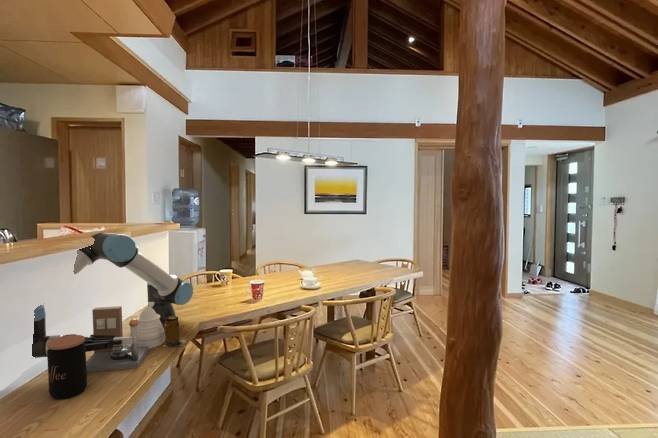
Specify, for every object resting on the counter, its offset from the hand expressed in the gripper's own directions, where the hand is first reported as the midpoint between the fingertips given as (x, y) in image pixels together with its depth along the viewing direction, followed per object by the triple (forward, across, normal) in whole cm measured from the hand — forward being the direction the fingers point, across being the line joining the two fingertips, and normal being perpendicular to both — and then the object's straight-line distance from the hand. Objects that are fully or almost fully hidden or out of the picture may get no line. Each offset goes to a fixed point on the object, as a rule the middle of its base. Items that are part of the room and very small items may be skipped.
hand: (132, 340), depth 148 cm
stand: (-8, -7, -11) cm, 15 cm away
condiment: (+12, -21, -11) cm, 26 cm away
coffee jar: (-16, +16, -11) cm, 25 cm away
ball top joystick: (-4, -6, -8) cm, 11 cm away
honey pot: (0, -24, -11) cm, 26 cm away
